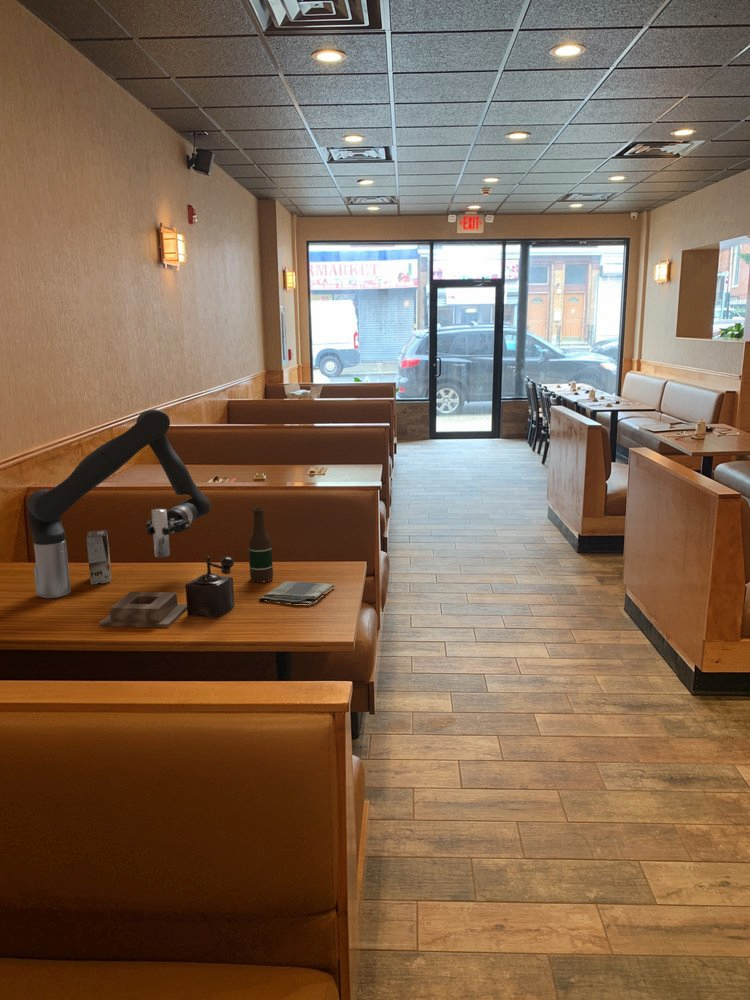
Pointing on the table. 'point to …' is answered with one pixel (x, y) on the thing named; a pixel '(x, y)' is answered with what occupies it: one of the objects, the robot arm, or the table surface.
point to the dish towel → (297, 592)
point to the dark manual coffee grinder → (211, 591)
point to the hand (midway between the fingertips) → (157, 531)
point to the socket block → (145, 610)
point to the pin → (160, 533)
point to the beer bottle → (260, 550)
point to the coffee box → (98, 556)
